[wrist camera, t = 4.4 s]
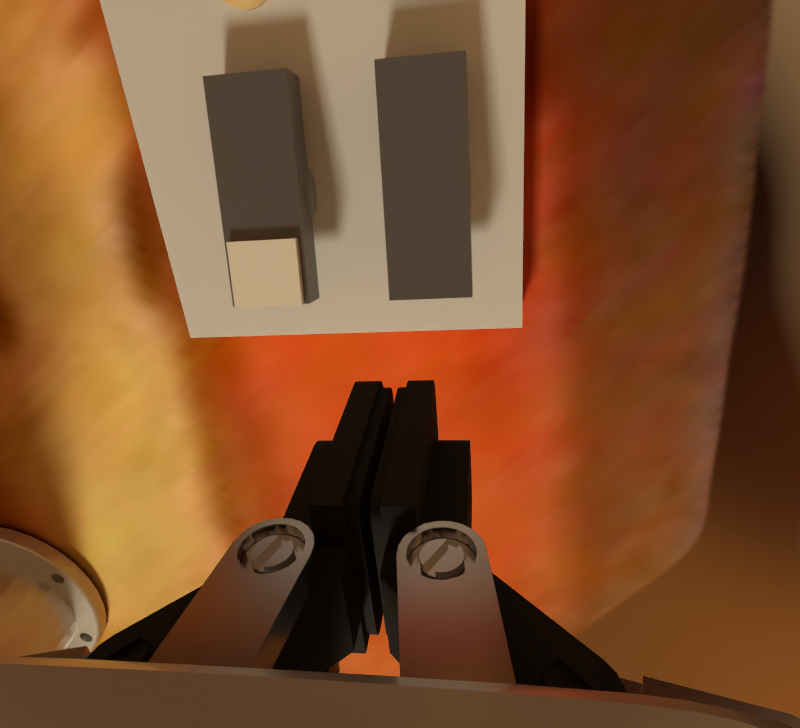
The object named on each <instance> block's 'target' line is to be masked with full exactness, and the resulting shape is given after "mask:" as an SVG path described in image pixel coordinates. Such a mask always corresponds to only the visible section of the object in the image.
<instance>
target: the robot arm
mask: <svg viewBox="0 0 800 728" xmlns="http://www.w3.org/2000/svg"><path fill="white" fill-rule="evenodd" d="M471 523H472V484H471V453H470V440H438V426H437V411H436V396H435V384H434V380H423V381H408V382H407V386H406V387H401V388H398V390H397V394H396V398H395V402H393V393H392V389H391V388H383V384H382V382H381V381H364V382H355V384H354V386H353V389H352V391H351V394H350V397H349V399H348V402H347V404H346V407H345V410H344V412H343V415H342V417H341V420H340V423H339V425H338V428H337V430H336V433H335V435H334V438H333V441H318V442H316V444H315V445H314V447H313V450H312V452H311V454H310V457H309V459H308V461H307V464H306V466H305V468H304V471H303V473H302V475H301V478H300V480H299V482H298V485H297V487H296V489H295V492H294V494H293V496H292V499H291V501H290V503H289V506H288V508H287V510H286V513H285V515H284V517H283V518H276V519H271V520H266V521H263V522H260V523H258V524H256V525H253V526H251V527H250V528H248V529H247V530H245V531H244V532H242V533H241V534H240V535H239V536H238V537H237V539H236V540H235V541H234V542H233V543H232V545H231V546H230V547H229V549H228V550H227V552H226V553H225V554H224V556H223V557H222V559H221V560H220V561H219V563H218V564H217V566H216V567H215V568H214V570H213V571H212V573H211V574H210V575H209V577H208V578H207V580H206V581H205V583H204V584H203V585H202V586H201V587H199V588H197V589H196V590H194V591H192V592H190V593H188V594H187V595H185V596H183V597H181V598H179V599H178V600H176V601H174V602H172V603H170V604H169V605H167V606H165V607H163V608H162V609H160V610H158V611H156V612H154V613H153V614H151V615H149V616H147V617H145V618H144V619H142V620H140V621H138V622H136V623H135V624H133V625H131V626H129V627H127V628H126V629H124V630H122V631H120V632H119V633H117V634H115V635H113V636H112V637H110V638H109V639H107V640H106V641H104V642H103V643H102V644H100V645H99V646H98V647H97V648H96V649H95V650H94V651H93V649H94V648H95V646H96V645H97V643H98V642H99V640H100V639H101V637H102V635H103V633H104V630H105V627H106V612H105V607H104V604H103V601H102V599H101V597H100V595H99V592H98V590H97V589H96V588H95V586H94V585H93V583H92V582H91V580H90V579H89V578H88V576H87V575H86V574H85V573H84V572H83V571H82V570H81V569H80V568H79V567H78V566H77V565H76V564H75V563H73V562H72V561H71V560H70V559H69V558H67V557H66V556H65V555H64V554H62V553H61V552H59V551H57V550H56V549H54V548H53V547H51V546H50V545H48V544H46V543H44V542H42V541H40V540H38V539H36V538H34V537H32V536H30V535H27V534H24V533H21V532H18V531H15V530H12V529H7V528H2V527H0V728H800V718H798V717H796V716H793V715H791V714H788V713H784V712H780V711H777V710H773V709H769V708H765V707H761V706H758V705H753V704H750V703H745V702H742V701H738V700H734V699H730V698H727V697H723V696H719V695H715V694H711V693H707V692H703V691H699V690H696V689H692V688H688V687H684V686H680V685H676V684H672V683H669V682H665V681H661V680H657V679H653V678H649V677H645V676H643V680H642V683H638V682H634V681H630V680H626V679H623V678H619V676H618V674H617V673H616V672H615V671H614V670H613V669H612V668H611V667H610V666H609V665H608V664H607V663H606V662H605V661H604V660H603V659H602V658H600V657H599V656H598V655H597V654H595V653H594V652H593V651H592V650H590V649H589V648H588V647H586V646H585V645H584V644H583V643H581V642H580V641H579V640H577V639H576V638H575V637H574V636H572V635H571V634H570V633H568V632H567V631H566V630H565V629H563V628H562V627H561V626H560V625H558V624H557V623H556V622H554V621H553V620H552V619H551V618H549V617H548V616H547V615H545V614H544V613H543V612H542V611H540V610H539V609H538V608H536V607H535V606H534V605H533V604H531V603H530V602H529V601H527V600H526V599H525V598H524V597H522V596H521V595H520V594H519V593H517V592H516V591H515V590H513V589H512V588H511V587H510V586H508V585H507V584H506V583H504V582H503V581H502V580H501V579H499V578H498V577H497V576H495V575H494V574H493V573H492V572H491V567H490V563H489V558H488V553H487V549H486V546H485V544H484V542H483V540H482V538H481V537H480V536H479V535H478V534H477V533H476V532H475V531H474V530H473V529H471ZM383 614H384V621H385V629H386V634H387V635H388V641H389V648H390V653H391V654H392V655H393V656H394V657H395V659H396V660H397V661H398V662H399V663H400V677H395V676H379V675H362V674H345V673H339V672H340V667H339V661H341V660H342V659H343V658H345V657H346V656H348V655H349V654H350V653H366V650H367V645H368V640H369V635H370V634H375V635H378V634H379V632H380V628H381V622H382V617H383ZM92 651H93V652H92Z"/></svg>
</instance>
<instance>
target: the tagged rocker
mask: <svg viewBox="0 0 800 728" xmlns="http://www.w3.org/2000/svg"><path fill="white" fill-rule="evenodd" d="M203 84H204V91H205V99H206V106H207V114H208V121H209V129H210V137H211V144H212V152H213V159H214V167H215V174H216V182H217V189H218V197H219V204H220V212H221V220H222V227H223V235H224V242H225V250H226V257H227V265H228V272H229V280H230V287H231V295H232V303H233V307H234V306H235V308H240V307H266V306H292V305H303V304H310V303H312V302H313V301H315V300H317V299H319V298H320V297H319V286H318V276H317V265H316V254H315V244H314V233H313V223H312V217H313V216H314V214H315V211H316V188H315V182H314V178H313V175H312V173H311V171H310V169H309V168H308V167H307V159H306V148H305V137H304V127H303V116H302V106H301V95H300V84H299V76H297V75H296V74H294V73H293V72H291V71H290V70H289V69H287V68H280V69H270V70H260V71H250V72H240V73H229V74H219V75H209V76H203Z"/></svg>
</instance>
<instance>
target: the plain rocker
mask: <svg viewBox="0 0 800 728" xmlns="http://www.w3.org/2000/svg"><path fill="white" fill-rule="evenodd" d="M374 66H375V82H376V98H377V113H378V129H379V145H380V161H381V177H382V192H383V208H384V224H385V240H386V255H387V271H388V287H389V301H391V300H417V299H443V298H469V297H472V295H473V280H472V243H471V192H470V160H469V130H468V93H467V59H466V50H464V51H454V52H443V53H433V54H423V55H413V56H403V57H392V58H382V59H374Z"/></svg>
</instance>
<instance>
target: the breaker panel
mask: <svg viewBox="0 0 800 728" xmlns="http://www.w3.org/2000/svg"><path fill="white" fill-rule="evenodd" d="M100 3H101V7H102V10H103V14H104V18H105V22H106V25H107V29H108V33H109V36H110V40H111V44H112V48H113V51H114V55H115V59H116V62H117V66H118V70H119V74H120V77H121V81H122V85H123V88H124V92H125V96H126V100H127V103H128V107H129V111H130V114H131V118H132V122H133V125H134V129H135V133H136V137H137V140H138V144H139V148H140V151H141V155H142V159H143V163H144V166H145V170H146V174H147V177H148V181H149V185H150V189H151V192H152V196H153V200H154V203H155V207H156V211H157V215H158V218H159V222H160V226H161V229H162V233H163V237H164V241H165V244H166V248H167V252H168V255H169V259H170V263H171V267H172V270H173V274H174V278H175V281H176V285H177V289H178V293H179V296H180V300H181V304H182V307H183V311H184V315H185V319H186V322H187V326H188V330H189V333H190V337H191V338H198V337H231V336H264V335H297V334H329V333H362V332H395V331H428V330H460V329H493V328H522V296H523V199H524V103H525V6H526V0H100ZM464 50H466V59H467V93H468V130H469V160H470V192H471V243H472V280H473V295H472V297H469V298H443V299H417V300H391V301H389V287H388V271H387V255H386V240H385V224H384V208H383V192H382V177H381V161H380V145H379V129H378V113H377V98H376V82H375V66H374V59H382V58H392V57H403V56H413V55H423V54H433V53H443V52H454V51H464ZM280 68H287V69H289V70H290V71H291V72H293V73H294V74H296V75H297V76H299V84H300V95H301V106H302V116H303V127H304V137H305V148H306V159H307V167H308V168H309V169H310V171H311V173H312V175H313V178H314V182H315V188H316V211H315V214H314V216H313V217H312V223H313V233H314V244H315V254H316V265H317V276H318V286H319V297H320V298H319V299H317V300H315V301H313V302H312V303H310V304H303V305H292V306H266V307H240V308H235V306H234V307H233V303H232V295H231V287H230V280H229V272H228V265H227V257H226V250H225V242H224V235H223V227H222V220H221V212H220V204H219V197H218V189H217V182H216V174H215V167H214V159H213V152H212V144H211V137H210V129H209V121H208V114H207V106H206V99H205V91H204V84H203V76H209V75H219V74H229V73H240V72H250V71H260V70H270V69H280Z"/></svg>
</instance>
